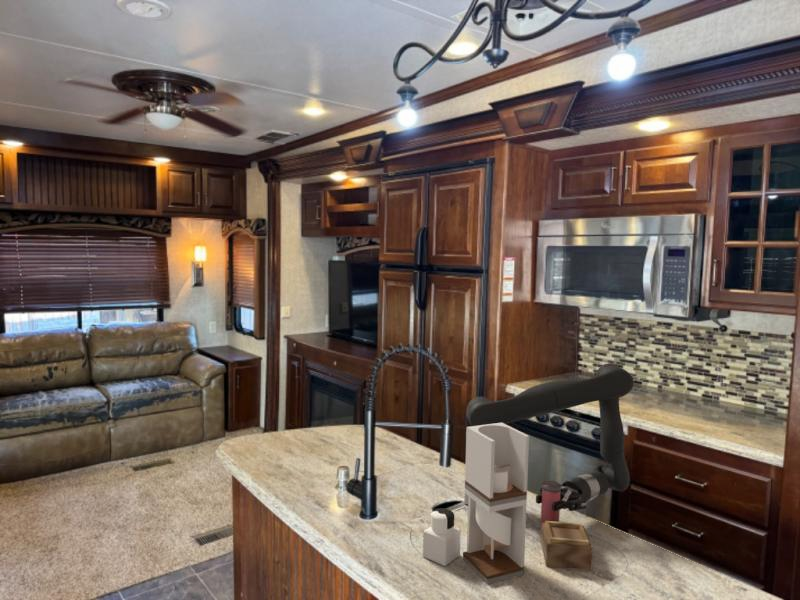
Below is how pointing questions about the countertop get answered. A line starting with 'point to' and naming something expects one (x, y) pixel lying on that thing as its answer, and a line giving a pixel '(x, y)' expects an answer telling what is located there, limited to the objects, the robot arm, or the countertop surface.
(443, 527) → the medicine bottle
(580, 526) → the wooden box
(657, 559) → the countertop surface
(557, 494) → the red lidded canister
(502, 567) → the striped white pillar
